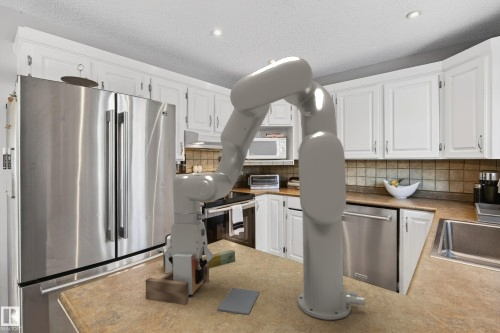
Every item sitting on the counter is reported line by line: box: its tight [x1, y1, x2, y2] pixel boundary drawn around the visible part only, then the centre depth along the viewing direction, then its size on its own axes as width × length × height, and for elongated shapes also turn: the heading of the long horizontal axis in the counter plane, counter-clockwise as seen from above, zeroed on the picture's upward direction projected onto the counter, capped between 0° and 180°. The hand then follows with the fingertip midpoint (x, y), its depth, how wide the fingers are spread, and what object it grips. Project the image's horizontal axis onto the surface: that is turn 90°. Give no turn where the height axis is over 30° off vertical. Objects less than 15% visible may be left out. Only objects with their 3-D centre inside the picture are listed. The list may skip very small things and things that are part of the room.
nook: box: [145, 264, 210, 305], centre depth 72 cm, size 12×14×5 cm
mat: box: [216, 287, 261, 316], centre depth 65 cm, size 8×11×1 cm
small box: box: [173, 254, 204, 296], centre depth 71 cm, size 8×6×10 cm
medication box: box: [202, 249, 236, 269], centre depth 90 cm, size 12×3×4 cm, turn 125°
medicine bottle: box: [162, 233, 172, 275], centre depth 87 cm, size 7×7×12 cm
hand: (188, 280), depth 71 cm, fingers closed on small box, 5 cm apart
